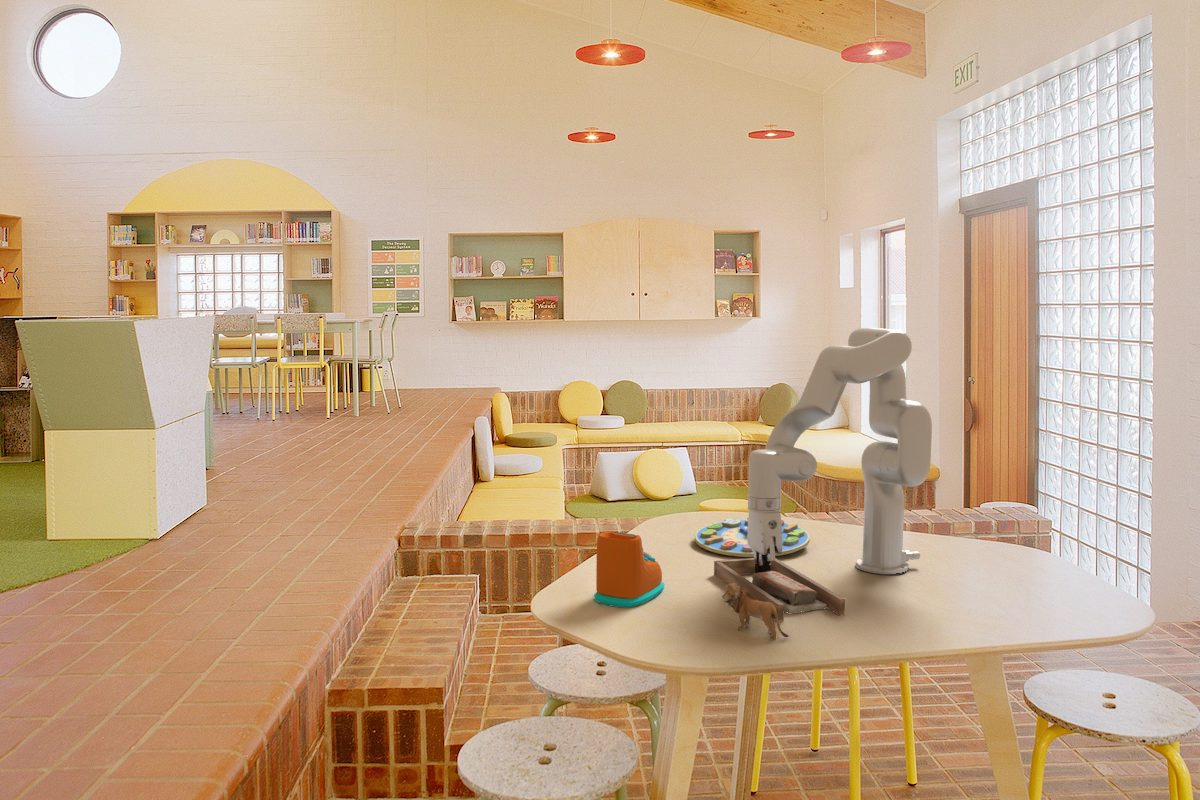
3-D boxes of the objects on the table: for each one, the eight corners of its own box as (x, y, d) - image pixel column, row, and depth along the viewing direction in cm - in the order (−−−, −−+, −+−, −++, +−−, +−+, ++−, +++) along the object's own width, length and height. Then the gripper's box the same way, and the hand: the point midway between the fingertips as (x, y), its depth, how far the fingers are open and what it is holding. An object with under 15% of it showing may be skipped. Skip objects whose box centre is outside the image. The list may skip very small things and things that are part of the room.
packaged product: (744, 572, 226) (781, 567, 230) (743, 592, 227) (780, 587, 231) (789, 593, 210) (828, 588, 214) (788, 616, 211) (827, 610, 214)
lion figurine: (717, 627, 202) (718, 584, 201) (731, 620, 206) (732, 578, 205) (782, 643, 193) (783, 598, 192) (795, 636, 197) (796, 592, 196)
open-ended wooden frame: (772, 570, 244) (772, 556, 243) (844, 615, 210) (845, 598, 210) (714, 575, 239) (714, 560, 239) (778, 621, 206) (778, 604, 206)
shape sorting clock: (672, 547, 266) (672, 525, 266) (734, 527, 289) (734, 507, 289) (771, 568, 247) (772, 545, 246) (829, 545, 270) (830, 523, 269)
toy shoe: (673, 588, 229) (674, 524, 227) (634, 612, 212) (634, 543, 210) (627, 580, 235) (627, 518, 233) (585, 603, 218) (585, 536, 216)
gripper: (793, 509, 223) (791, 588, 225) (765, 496, 237) (763, 571, 239) (762, 511, 221) (760, 591, 223) (736, 497, 235) (734, 573, 237)
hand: (762, 580), depth 231 cm, fingers closed
